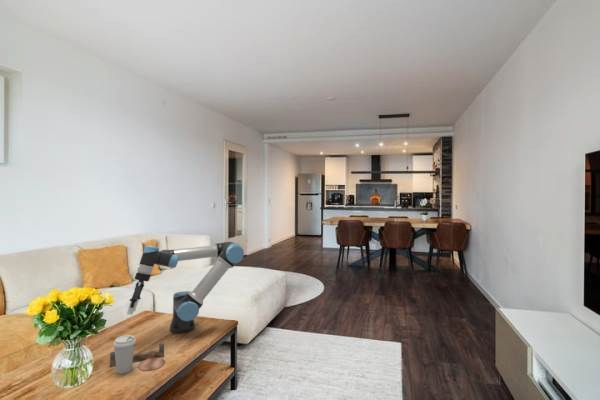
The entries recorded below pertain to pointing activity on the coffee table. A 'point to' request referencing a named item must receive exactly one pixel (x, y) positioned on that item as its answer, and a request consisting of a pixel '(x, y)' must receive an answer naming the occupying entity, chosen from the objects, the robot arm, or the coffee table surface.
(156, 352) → the rail
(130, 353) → the coffee cup
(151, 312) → the coffee table surface
